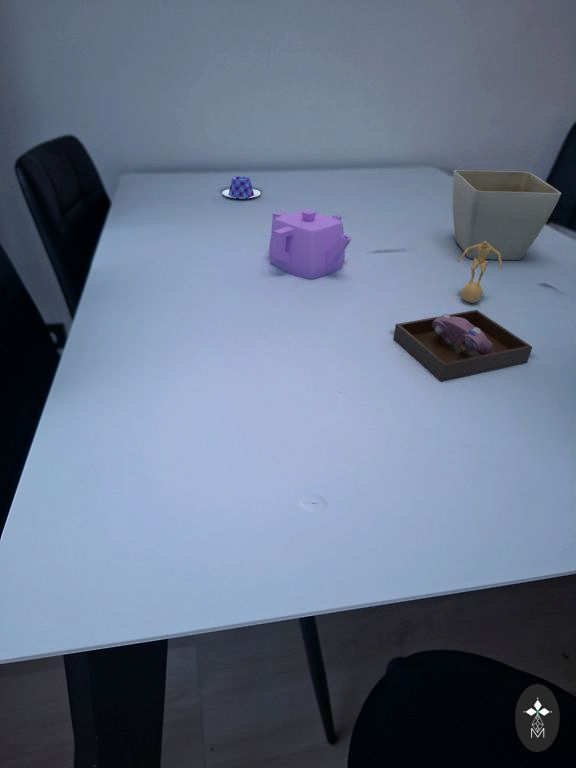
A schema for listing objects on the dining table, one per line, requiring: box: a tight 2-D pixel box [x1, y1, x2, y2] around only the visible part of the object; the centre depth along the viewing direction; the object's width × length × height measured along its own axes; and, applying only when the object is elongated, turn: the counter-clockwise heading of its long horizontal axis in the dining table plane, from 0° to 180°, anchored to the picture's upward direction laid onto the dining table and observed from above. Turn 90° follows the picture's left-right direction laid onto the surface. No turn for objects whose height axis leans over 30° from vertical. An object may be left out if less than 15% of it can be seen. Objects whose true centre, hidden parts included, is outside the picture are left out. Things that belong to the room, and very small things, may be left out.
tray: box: [393, 309, 533, 382], centre depth 90 cm, size 17×14×3 cm
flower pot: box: [452, 169, 562, 261], centre depth 127 cm, size 19×19×17 cm
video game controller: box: [432, 313, 493, 355], centre depth 89 cm, size 10×5×7 cm, turn 38°
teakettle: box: [268, 208, 352, 280], centre depth 117 cm, size 17×17×12 cm
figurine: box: [457, 241, 503, 304], centre depth 104 cm, size 8×6×12 cm
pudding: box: [221, 175, 261, 200], centre depth 166 cm, size 12×12×5 cm
